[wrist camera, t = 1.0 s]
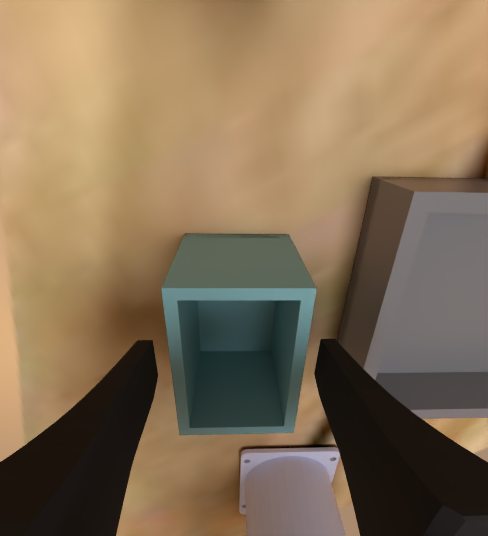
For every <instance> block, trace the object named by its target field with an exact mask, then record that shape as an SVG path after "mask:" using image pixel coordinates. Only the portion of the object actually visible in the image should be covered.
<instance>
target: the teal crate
mask: <svg viewBox="0 0 488 536" xmlns="http://www.w3.org/2000/svg"><path fill="white" fill-rule="evenodd" d="M161 290H162V298H163V307H164V315H165V323H166V331H167V339H168V347H169V355H170V363H171V371H172V379H173V387H174V395H175V403H176V411H177V419H178V427H179V435H213V434H263V433H294V428H295V421H296V415H297V409H298V403H299V396H300V390H301V384H302V377H303V371H304V365H305V359H306V352H307V346H308V340H309V334H310V327H311V321H312V315H313V308H314V302H315V296H316V290H317V288H316V286H315V284H314V282H313V280H312V278H311V276H310V274H309V273H308V271H307V269H306V267H305V265H304V263H303V261H302V259H301V257H300V255H299V253H298V251H297V249H296V247H295V245H294V243H293V241H292V240H291V238H290V236H289V235H273V234H185V235H184V237H183V240H182V242H181V244H180V246H179V249H178V251H177V253H176V256H175V258H174V260H173V262H172V265H171V267H170V269H169V272H168V274H167V276H166V278H165V281H164V283H163V285H162V288H161Z"/></svg>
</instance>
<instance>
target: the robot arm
mask: <svg viewBox="0 0 488 536" xmlns="http://www.w3.org/2000/svg"><path fill="white" fill-rule="evenodd" d="M314 374H315V378H316V383H317V388H318V392H319V396H320V399H321V402H322V405H323V408H324V411H325V413H326V416H327V419H328V422H329V425H330V427H331V430H332V433H333V436H334V439H335V441H336V444H337V447H338V448H336V447H316V448H272V449H245V450H243V451H242V452H241V463H240V497H239V512H240V514H243V515H246V527H247V536H346V535H345V531H344V527H343V524H342V520H341V517H340V513H339V509H338V506H337V502H336V498H335V495H334V491H333V487H332V481H333V477H334V474H335V470H336V467H337V464H338V460H339V457H340V456H341V459H342V463H343V466H344V470H345V474H346V478H347V482H348V486H349V490H350V494H351V498H352V502H353V506H354V510H355V514H356V519H357V523H358V528H359V532H360V536H488V462H486V461H484V460H483V459H481V458H480V457H478V456H476V455H475V454H473V453H472V452H470V451H468V450H467V449H465V448H463V447H462V446H460V445H459V444H457V443H456V442H454V441H453V440H451V439H449V438H448V437H446V436H445V435H444V434H442V433H441V432H439V431H438V430H436V429H435V428H433V427H432V426H431V425H429V424H428V423H426V422H425V421H424V420H422V419H421V418H420V417H418V416H417V415H416V414H414V413H413V412H412V411H411V410H409V409H408V408H407V407H405V406H404V405H403V404H402V403H400V402H399V401H398V400H397V399H396V398H394V397H393V396H392V395H391V394H390V393H389V392H388V391H386V390H385V389H384V388H383V387H382V386H381V385H380V384H379V383H378V382H377V381H375V380H374V379H373V378H372V377H371V376H370V375H369V374H368V373H367V372H366V371H365V370H364V369H363V368H362V367H361V366H360V365H359V364H358V363H357V362H356V361H355V360H354V359H353V358H352V357H351V356H350V354H349V353H348V352H347V351H346V350H345V349H344V348H343V347H342V346H341V345H340V344H339V343H338V342H337V341H336V340H335V339H321V341H320V346H319V352H318V357H317V362H316V368H315V373H314ZM157 378H158V372H157V365H156V359H155V353H154V346H153V340H138V341H137V342H136V343H135V344H134V345H133V346H132V347H131V348H130V349H129V351H128V352H127V353H126V354H125V355H124V356H123V357H122V359H121V360H120V361H119V362H118V363H117V364H116V365H115V366H114V367H113V368H112V369H111V370H110V372H109V373H108V374H107V375H106V376H105V377H104V378H103V379H102V380H101V381H100V382H99V383H98V384H97V385H96V386H95V387H94V388H93V389H92V390H91V391H90V392H89V393H88V394H87V395H86V396H85V397H84V398H83V399H81V400H80V401H79V402H78V403H77V404H76V405H75V406H74V407H73V408H71V409H70V410H69V411H68V412H67V413H66V414H64V415H63V416H62V417H61V418H60V419H59V420H57V421H56V422H55V423H54V424H52V425H51V426H50V427H49V428H47V429H46V430H45V431H43V432H42V433H41V434H39V435H38V436H37V437H35V438H34V439H33V440H31V441H30V442H29V443H27V444H26V445H25V446H23V447H22V448H20V449H19V450H18V451H16V452H15V453H13V454H12V455H11V456H9V457H7V458H6V459H4V460H3V461H1V462H0V536H116V533H117V528H118V524H119V519H120V515H121V510H122V506H123V501H124V496H125V492H126V488H127V484H128V479H129V475H130V471H131V467H132V463H133V460H134V457H135V453H136V450H137V447H138V444H139V441H140V438H141V435H142V432H143V429H144V426H145V423H146V420H147V417H148V414H149V411H150V408H151V405H152V402H153V398H154V393H155V389H156V384H157Z"/></svg>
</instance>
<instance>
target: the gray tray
mask: <svg viewBox="0 0 488 536" xmlns="http://www.w3.org/2000/svg"><path fill="white" fill-rule="evenodd" d="M337 342H338V343H339V344H340V345H341V346H342V347H343V348H344V349H345V350H346V351H347V352H348V353H349V354H350V356H351V357H352V358H353V359H354V360H355V361H356V362H357V363H358V364H359V365H360V366H361V367H362V368H363V369H364V370H365V371H366V372H367V373H368V374H369V375H370V376H371V377H372V378H373V379H374V380H375V381H377V382H378V383H379V384H380V385H381V386H382V387H383V388H384V389H385V390H386V391H388V392H389V393H390V394H391V395H392V396H393V397H394V398H396V399H397V400H398V401H399V402H400V403H402V404H403V405H404V406H405V407H407V408H408V409H409V410H411V411H412V412H413V413H414V414H416V415H417V416H418V417H420V418H421V419H437V418H488V179H478V178H424V177H373V179H372V183H371V188H370V193H369V197H368V202H367V206H366V211H365V216H364V220H363V225H362V229H361V234H360V239H359V243H358V248H357V252H356V257H355V261H354V266H353V271H352V275H351V280H350V284H349V289H348V294H347V298H346V303H345V307H344V312H343V317H342V321H341V326H340V330H339V335H338V340H337Z"/></svg>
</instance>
